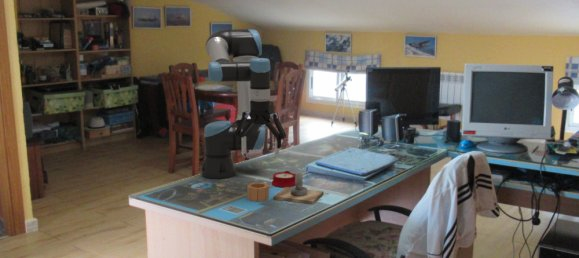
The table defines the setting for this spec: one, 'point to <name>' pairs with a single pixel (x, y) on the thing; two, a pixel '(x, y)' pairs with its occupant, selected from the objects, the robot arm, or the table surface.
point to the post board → (300, 199)
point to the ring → (257, 191)
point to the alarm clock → (283, 179)
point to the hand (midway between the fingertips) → (260, 155)
